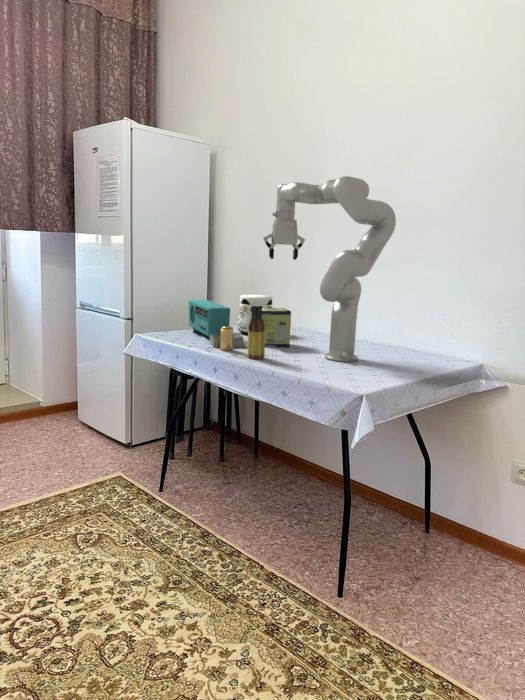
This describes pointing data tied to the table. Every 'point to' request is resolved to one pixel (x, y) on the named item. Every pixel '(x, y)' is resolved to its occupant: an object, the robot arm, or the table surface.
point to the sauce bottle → (256, 334)
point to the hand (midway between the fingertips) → (283, 259)
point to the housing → (216, 340)
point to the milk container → (245, 309)
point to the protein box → (276, 326)
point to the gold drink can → (226, 338)
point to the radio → (208, 316)
